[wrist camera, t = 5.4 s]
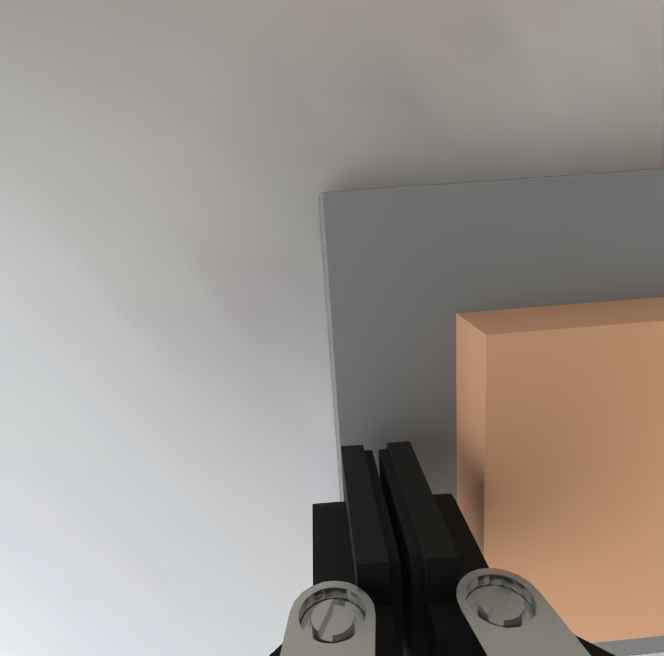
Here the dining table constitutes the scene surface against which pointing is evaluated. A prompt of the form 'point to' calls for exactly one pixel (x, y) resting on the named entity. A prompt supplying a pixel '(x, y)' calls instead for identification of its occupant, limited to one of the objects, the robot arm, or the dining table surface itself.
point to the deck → (468, 292)
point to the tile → (568, 456)
